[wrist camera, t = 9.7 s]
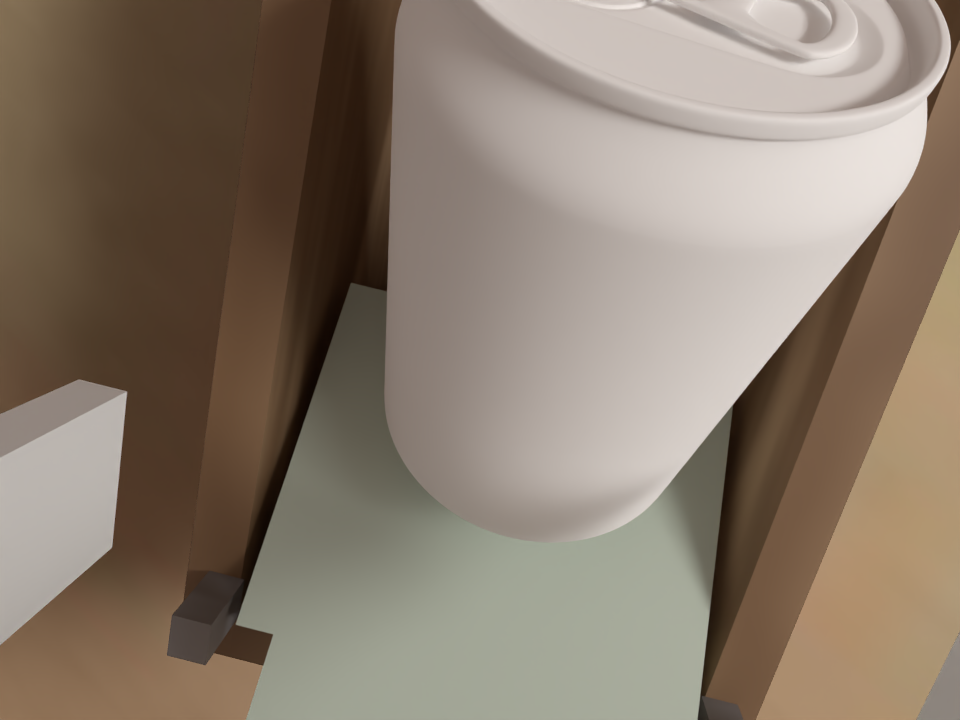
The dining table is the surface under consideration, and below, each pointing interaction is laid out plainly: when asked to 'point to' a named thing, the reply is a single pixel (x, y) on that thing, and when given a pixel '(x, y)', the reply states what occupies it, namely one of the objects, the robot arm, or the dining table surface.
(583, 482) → the beverage can
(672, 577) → the lid
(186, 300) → the dining table surface
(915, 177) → the crate
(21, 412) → the robot arm
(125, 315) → the dining table surface
